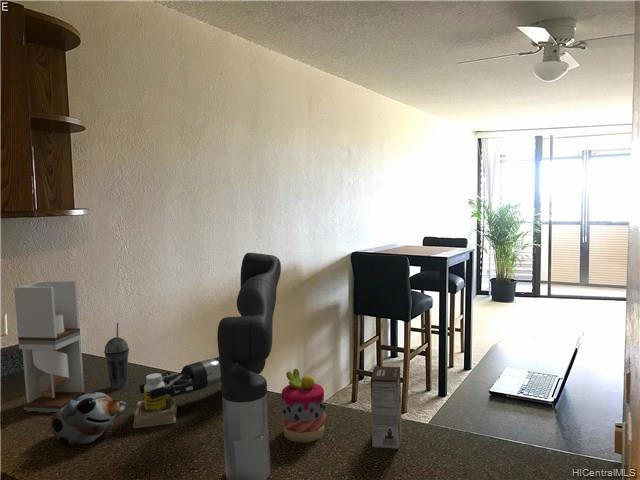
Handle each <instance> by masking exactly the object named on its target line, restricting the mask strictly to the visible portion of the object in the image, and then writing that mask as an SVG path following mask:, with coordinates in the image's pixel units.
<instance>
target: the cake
mask: <svg viewBox="0 0 640 480" xmlns="http://www.w3.org/2000/svg"><path fill="white" fill-rule="evenodd" d="M285 374H286V378H287V379H288V385H286V386H285V387H284V388H283V389H282V390H281V405H282V414H283V418H281V421H280V422H282V423H283V434H284V435H283V436H284V437H285V439H287V440H289V441H291V442H294V443H310V442H315V441H317V440H319V439H322V437H323V436H324V435H325V424H326V419H327V415H326V413H325V411H324V410H326V408H327V407H326V406H325V405H324V401H325V389H324V388H323V386H322V385H320V384H318V383H315V379H314V378H313V377H312V376H311V375H306V376H302V377H301V378H300V371H299V369H298V368H293V370H292V372H291V371H286V373H285Z"/></svg>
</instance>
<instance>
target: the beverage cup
mask: <svg viewBox="0 0 640 480" xmlns="http://www.w3.org/2000/svg"><path fill="white" fill-rule="evenodd" d="M115 335H116V337H112V338H110V339H109V340H108V341H107V342H106V344H105V345H104V352H103V354H104V356H105V359H106V364H107V370H108V376H109V377H108V378H109V383H110V388H111V389H112V390H115V389H117V390H122V389H125V388H127V386H128V371H129V370H128V367H129V365H128V364H129V362H128V360H129V359H128V357H129V353H130V348H129V345H128V343H127V341H126V340H125V339H124V338H123V337H119V322H116V334H115Z"/></svg>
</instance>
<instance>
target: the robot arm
mask: <svg viewBox="0 0 640 480" xmlns="http://www.w3.org/2000/svg"><path fill="white" fill-rule="evenodd" d="M281 272H282V265H281V261H280V259H279V257H278V256H277V255H273V254H266V253H257V252H247V253H245V254H244V256H243V258H242V260H241V266H240V289H239V292H238V294H237V299H236V309H237V311H238V313H239V315H240V316H225V317H223V318H221V320H220V321H219V323H218V326H217V333H216V335H217V336H216V337H217V350H218V351H217V352H218V356H217V357H214V358H209V359H204V360H200V361H197V362H193V363H189V364H186V365H185V366H183V367H182V369H181V371H180V373H177V372H176V373H172V374H171V372H170V371H165V372H164V373H160V374H161V375H162V382H164V384H165V386H164V387H160V388H157V389H153V390H151V391H150V398H151V399H155V398H158V397H161V396H164V395H165V396H166V397H168V396H169V398H170V397H175V398H176V397H178V396H183V395H186V394H190V393H194V392H198V391H200V390H203V389H206V388H209V387H212V386H214V385H217V384H218V383H221V384H220V385H221V402H222V405H221V406H222V424H223V443H224V461H225V462H224V463H225V477H226V480H267V479H268V478H269V477H270V475H271V472H272V471H271V451H270V450H271V449H270V431H269V429H270V428H269V427H270V426H269V405H268V404H269V403H268V402H269V401H268V382H267V379H266V377H264V376H263V375H262V374H261V373H262V372H263V370H264V368H265V367H266V361H267V359H268V358H269V356H270V354H271V351H272V348H273V347H272V346H273V327H274V326H273V321H274V320H273V319H274V315H275V314H274V312H275V308H276V305H277V304H276V303H277V302H276V301H277V291H278V284H279V281H280V278H281ZM146 384H147V382H146V383H142V384H140V385H139V393H140V394H144V386H145V385H146Z"/></svg>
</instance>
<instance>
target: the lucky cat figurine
mask: <svg viewBox="0 0 640 480" xmlns="http://www.w3.org/2000/svg"><path fill="white" fill-rule="evenodd" d="M126 406H127V403H126V401H123V400H120V399H118V398H111V396H109V395H107V394H105V393H104V392H99V391H98V392H97V391H95V392H90V393H85V394H84V395H82V396H80V397H78V398H76V400H75V401H74V400H70V401H69V403H68V405H67V406H66V407H65V408H64V409H61V410H59V411H58V412H57V413H54V415H53V417H52V420H51V422H50V423H51V424H50V426H51V427H50V428H51V431H52V433H53V435H54V437H55V438H56V440H57V442H60V443H61V442H64V443H65V444H66V445H67V446H69V447H73V446H80V445H87V444H92V443H93V442H95V440H97V438H99V437H101V436H103V434H104V432H106V430H107V429H108V428H109V427H110V426H111V425H112V423H114V422H115V420H116V419H117V418H118V417H120V415H122V414H123V412H124V410H125V409H126Z"/></svg>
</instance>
